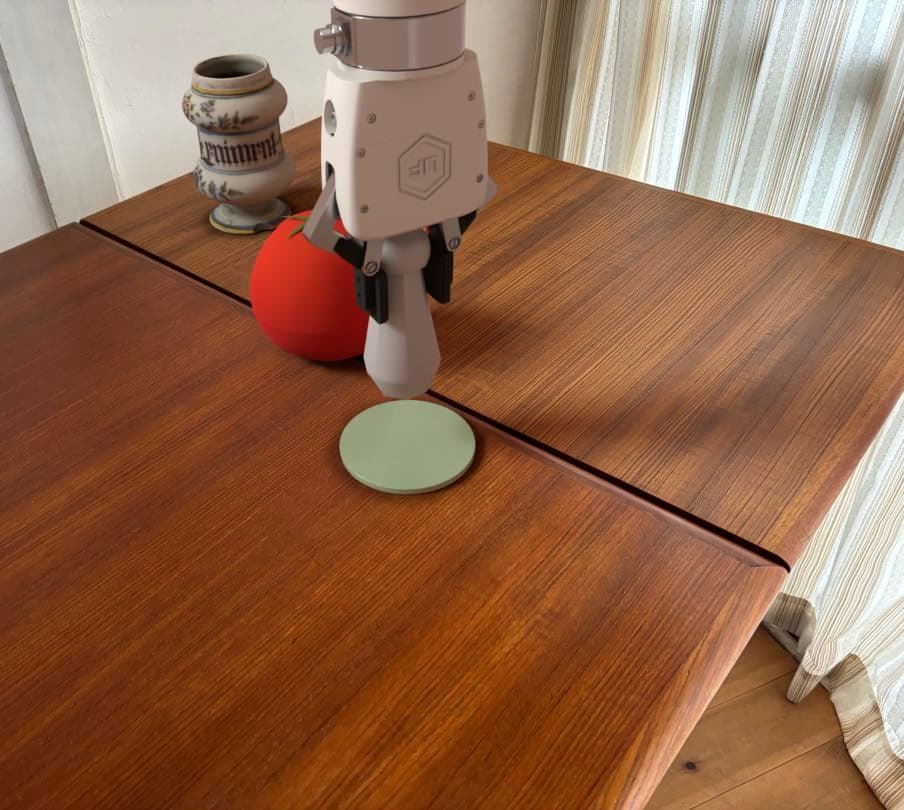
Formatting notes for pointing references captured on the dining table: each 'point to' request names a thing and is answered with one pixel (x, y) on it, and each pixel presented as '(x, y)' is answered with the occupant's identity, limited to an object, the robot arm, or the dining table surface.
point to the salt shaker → (404, 322)
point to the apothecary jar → (240, 142)
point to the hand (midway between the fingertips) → (404, 302)
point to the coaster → (407, 447)
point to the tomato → (307, 296)
